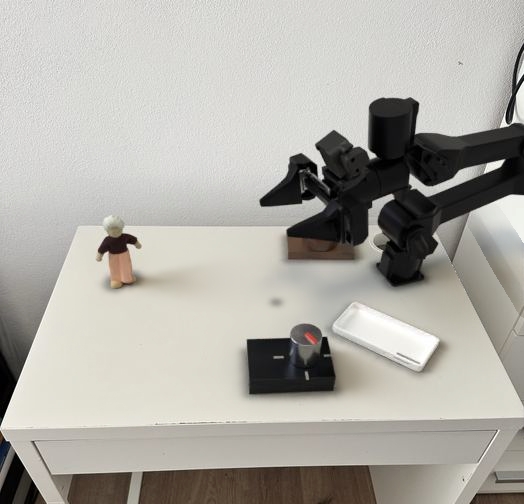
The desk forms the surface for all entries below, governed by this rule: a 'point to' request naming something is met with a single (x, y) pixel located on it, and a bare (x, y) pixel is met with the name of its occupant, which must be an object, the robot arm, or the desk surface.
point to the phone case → (386, 335)
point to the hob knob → (305, 345)
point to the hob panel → (286, 368)
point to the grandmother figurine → (117, 251)
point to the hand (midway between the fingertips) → (272, 217)
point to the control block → (317, 249)
